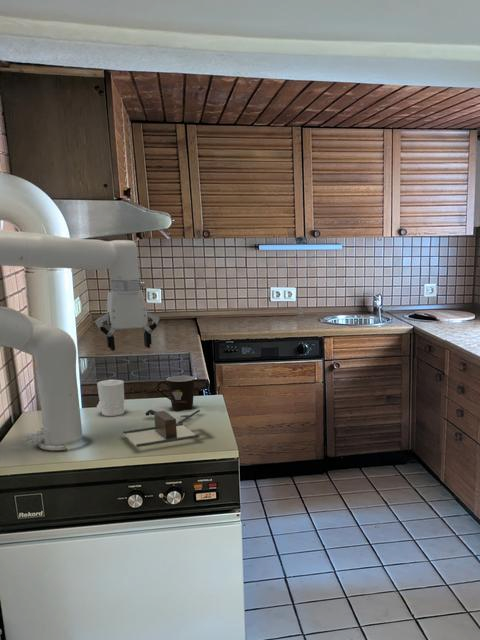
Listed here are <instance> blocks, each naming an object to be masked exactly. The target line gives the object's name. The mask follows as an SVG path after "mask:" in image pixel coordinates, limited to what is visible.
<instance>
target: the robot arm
mask: <svg viewBox="0 0 480 640" xmlns="http://www.w3.org/2000/svg"><path fill="white" fill-rule="evenodd" d="M138 257H139V256H138V245H137V243H136V242H135V240H131V239H130V240H129V239H114V240H103V239H102V240H101V239H91V238H89V239H86V238H76V237H75V238H73V237H65V236H57V235H51V234H47V233H42V232H41V233H40V232H31V231H30V232H29V231H17V230H6V229H0V266H3V267H22V268H23V267H24V268H37V269H38V268H40V269H73V270H74V269H75V270H90V271H91V270H92V271H106V270H109V279H110V291H108V292H107V297H106V299H107V300H106V313H105V314H104V315H102V316H99V318H97V319H95V320H94V323H95V325H97V328H98V329H99V331H101V333H103V334H104V335H106V344H107V348H108V349H109V350H110V351H112V352H113V351H116V345H115V337H114V336H113V335H114V333H115V332H116V330H127V329H139V328H141V329H143V330H144V333H143V341H144V342H143V343H144V347H146V348H147V349H150V348H151V345H152V334H153V331H154V330H155V329H156V328H157V326H158V324H159V321H160V318H161V317H160V316H158V315H155V314H153V313H151V312H149V311H147V304H146V299H145V295H144V292H143V291H142V290H141V289H142V287H143V288H145V287H146V282H145V281H141V280H140V271H139V258H138ZM148 318H150V319H152V321H151V323H150V324H149V320H148ZM104 322H107V324H108V328H106V327H105V326H104V324H103V323H104ZM148 324H149V325H148ZM0 345H1V346H4V347H8V348H12V349H15V350H16V351H17V350H18V351H20V352H22V353H25V354H28V355H30V356H32V357H35V358H36V362H37V363H36V364H37V367H36V371H37V372H36V374H37V375H36V376H37V386H38V387H37V388H38V393H39V402H40V410H41V420H42V427H41V428H40V430H39V431H37V432H33V433H31V432H30V433H25V434H24V439H25V442H31V443H37V442H38V447H39V448H40V449H41V450H46V451H54V452H55V451H56V452H57V451H67V450H68V449H67V447H66V446H65V445H67V444H72V443H76V442H79V441H81V440H82V439H83V437H84V436H83V428H82V418H81V417H82V415H81V408H80V407H81V406H80V397H79V388H78V379H77V378H78V377H77V347H76V343H75V341H74V339H73V337H72V336H71V335H70V334H69V333H68V332H67V331H65V330H63V329H61V328H59V327H57V326H54V325H51V324H49V323H46V322H44V321H41V320H39V319H37V318H35V317H33V316H31V315H30V316H29V315H28V314H25V313H23V312H21V311H18V310H16V309H14V308H11V307H8V306H1V305H0Z"/></svg>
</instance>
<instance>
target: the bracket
mask: <svg viewBox="0 0 480 640" xmlns="http://www.w3.org/2000/svg"><path fill="white" fill-rule="evenodd" d="M200 411H201V410H200V409H197V410H196V411H194V412H192V413H191V414H185V415H184V414H183V415H180V416H179V418H183V419H181V420H179V421H178V422H177V423H183V424H184V422H186V421H187V420H189V419H191V418H192V417H194V416H195V415H196V414H198V413H200ZM154 412H157V411H156V410H153V409H149V410H146V413H145V416H146V417H148V416H150V415H151V416H154Z"/></svg>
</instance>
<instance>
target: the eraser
mask: <svg viewBox="0 0 480 640" xmlns="http://www.w3.org/2000/svg"><path fill="white" fill-rule="evenodd" d="M153 417H154V418H153V419H154V427H155V431H156V432H158V433H159V434H160V435H161V436H162V437H164V438H165V439H166V440H167V439H173V438H177V430H176V424H177V418H175V417H174V416H173V415H171V414H170V413H169V412H167V411H166V410H159V411H156V412H154V415H153Z"/></svg>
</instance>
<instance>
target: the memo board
mask: <svg viewBox="0 0 480 640" xmlns="http://www.w3.org/2000/svg"><path fill="white" fill-rule="evenodd" d="M176 430H177V438H173V439H167V440H166V439H165V438H164V437H162V436H161V435H160V434H159V433H158V432H156V431H155V426H151V427H144V428H136V429H129V430H123V431H122V434H123V435H124V436H125V437H126V438H127V439H128V440H129V441H130V443H132V444H133V445H134V446H135V447H136V448H139V447H141V448H142V447H146V446H153V445H160V444H165V443H173V442H179V441H184V440H191V439H197V438H200V435H199V434H196V433H194V432H192V430H190V429H189V428H187V427H186V426H185V425H184V422H183V423H178V422H176Z"/></svg>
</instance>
